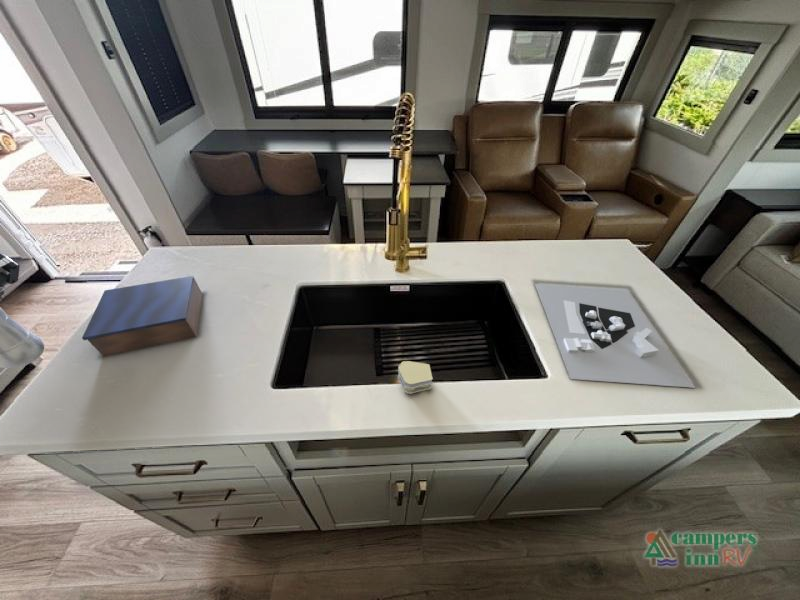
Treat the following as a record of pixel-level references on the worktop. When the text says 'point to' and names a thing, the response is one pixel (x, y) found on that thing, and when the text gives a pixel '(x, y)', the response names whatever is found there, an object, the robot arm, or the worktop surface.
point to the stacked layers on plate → (414, 376)
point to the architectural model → (608, 337)
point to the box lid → (140, 307)
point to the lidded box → (154, 331)
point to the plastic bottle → (17, 344)
